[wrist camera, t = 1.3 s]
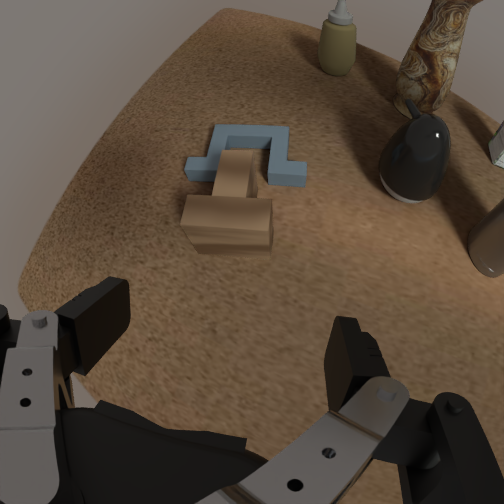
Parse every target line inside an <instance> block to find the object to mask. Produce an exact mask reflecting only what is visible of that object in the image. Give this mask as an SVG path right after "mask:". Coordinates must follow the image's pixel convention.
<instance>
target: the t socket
mask: <svg viewBox="0 0 504 504" xmlns="http://www.w3.org/2000/svg"><path fill="white" fill-rule="evenodd" d="M288 144H289V127H285V126H266V125H225V124H216V125H215V128H214V132H213V136H212V139H211V143H210V146H209V150H208V154H207V157H188V159H187V162H186V166H185V169H184V170H185V173H186V175H187V177H188V180H189V181H208V182H215V178H216V174H217V169H218V165H219V161H220V157H221V152H222V150H230V147H235V148H261V149H271V150H270V158H269V166H268V185H281V186H294V187H305V183H306V173H307V162H299V161H287V157H288Z"/></svg>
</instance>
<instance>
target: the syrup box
mask: <svg viewBox="0 0 504 504" xmlns="http://www.w3.org/2000/svg"><path fill="white" fill-rule="evenodd" d="M488 146H489V151H490V155H491V159H492V163H493V164H494V165H497V166H499V167H501V168H503V169H504V121H503V122H502V124H501V126H500V127H499V129H498V130H497V131H496V133H495V134H494V136H493V137H492V139H491V140H490V141H489V143H488Z"/></svg>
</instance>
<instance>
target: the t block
mask: <svg viewBox="0 0 504 504" xmlns="http://www.w3.org/2000/svg"><path fill="white" fill-rule="evenodd" d="M257 192H258V187H257V178H256V170H255V162H254V154H253V151H245V150H222V152H221V157H220V161H219V165H218V169H217V174H216V178H215V183H214V187H213V192H212V196H209V195H187V198H186V202H185V206H184V210H183V214H182V218H181V222H180V225H181V227H182V229H183V230H184V232H185V233H186V235H187V237H188V238H189V240H190V241H191V243H192V244H193V246H194V248H195V249H196V251H197V252H198V254H208V255H219V256H230V257H241V258H252V259H263V260H271V251H272V242H273V212H272V199H261V198H257Z"/></svg>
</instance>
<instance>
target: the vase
mask: <svg viewBox="0 0 504 504" xmlns="http://www.w3.org/2000/svg"><path fill="white" fill-rule="evenodd" d="M481 1H483V0H432V2H431V5H430V8H429V10H428V12H427V14H426V16H425V18H424V20H423V23H422V25H421V26H420V28H419V30H418V32H417V34H416V36H415V38H414V39H413V41H412V43H411V45H410V47H409V49H408V51H407V53H406V55H405V57H404V59H403V61H402V63H401V66H400V68H399V71H398V75H397V80H396V89H397V92H398V93H397V94H396V95H395V96H394V98H393V102H394V105H395V107H396V108H397V109H398V110H399V111H400V112H401V113H402V114H403V115H405V116H407V117H408V118H410V119H412V116H411V114H410V112H409V110H408V108H407V106H406V104H405V100H407V99H411V100H412V101H413V103H414V104H415V106H416V107H417V108H418V110H419V111H420V113H421V114H424V113H431V114H433V113H432V112H433V111H435V110H437V109H439V107H440V106H441V105H442V104H443V102H444V101H445V99H446V97H447V95H448V93H449V90H450V88H451V85H452V81H453V78H454V74H455V70H456V66H457V62H458V58H459V53H460V49H461V44H462V39H463V35H464V31H465V27H466V23H467V19H468V15H469V12H470V9H471V8H472V7H473V6H474V5H475V4H477V3H479V2H481Z"/></svg>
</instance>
